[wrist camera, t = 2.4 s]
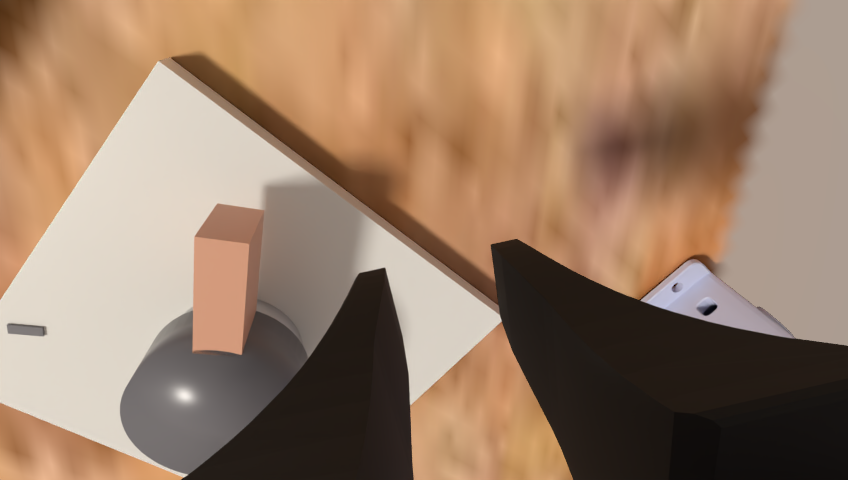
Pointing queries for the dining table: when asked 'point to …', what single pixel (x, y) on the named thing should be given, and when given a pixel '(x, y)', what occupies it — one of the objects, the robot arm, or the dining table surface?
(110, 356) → the joystick base
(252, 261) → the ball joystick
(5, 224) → the dining table surface
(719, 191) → the dining table surface
